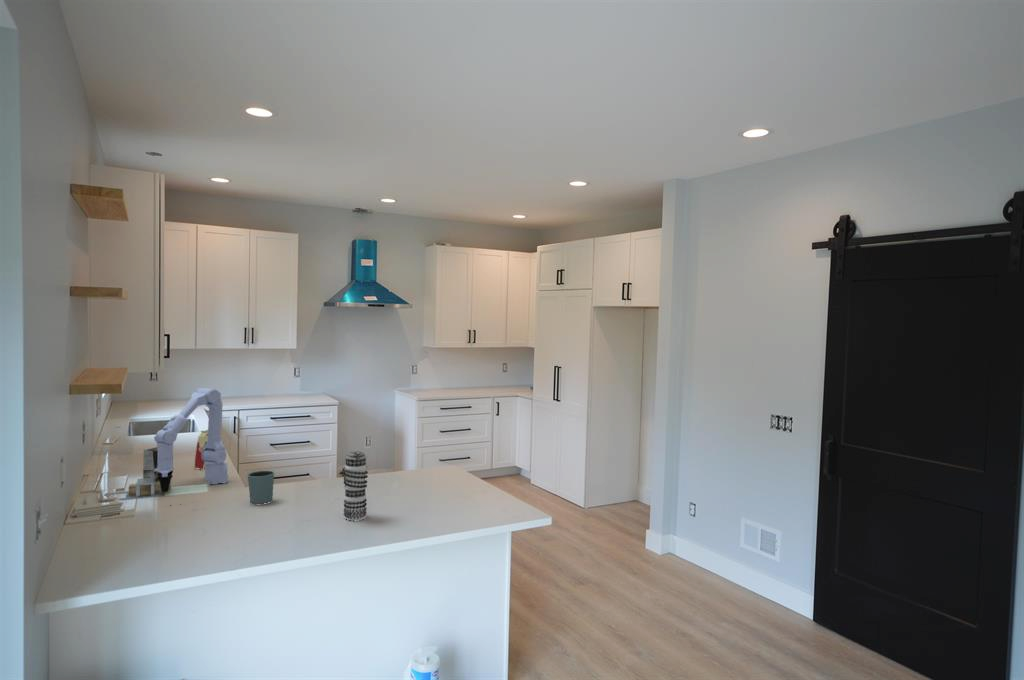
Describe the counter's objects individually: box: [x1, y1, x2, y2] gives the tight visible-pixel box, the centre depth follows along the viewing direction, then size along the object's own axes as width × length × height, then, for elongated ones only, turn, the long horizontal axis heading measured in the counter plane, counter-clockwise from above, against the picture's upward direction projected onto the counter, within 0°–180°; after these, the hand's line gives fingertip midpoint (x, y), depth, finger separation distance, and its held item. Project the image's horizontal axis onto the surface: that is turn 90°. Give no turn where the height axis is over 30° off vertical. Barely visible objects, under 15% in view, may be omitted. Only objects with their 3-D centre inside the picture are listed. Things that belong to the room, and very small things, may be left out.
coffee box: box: [142, 446, 159, 482], centre depth 276 cm, size 9×6×16 cm
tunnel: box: [135, 477, 155, 497], centre depth 256 cm, size 6×9×6 cm
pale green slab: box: [103, 483, 209, 501], centre depth 258 cm, size 38×14×2 cm, turn 118°
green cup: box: [247, 470, 275, 505], centre depth 251 cm, size 10×10×12 cm
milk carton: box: [193, 429, 208, 470], centre depth 307 cm, size 9×9×20 cm
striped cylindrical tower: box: [343, 451, 369, 522], centre depth 234 cm, size 9×9×25 cm
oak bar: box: [128, 480, 172, 496], centre depth 256 cm, size 15×4×4 cm, turn 118°
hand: (165, 490), depth 259 cm, fingers open, 5 cm apart
